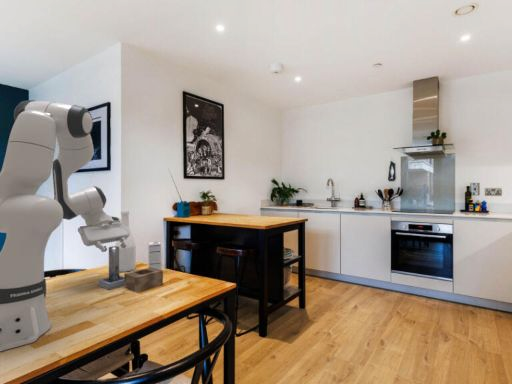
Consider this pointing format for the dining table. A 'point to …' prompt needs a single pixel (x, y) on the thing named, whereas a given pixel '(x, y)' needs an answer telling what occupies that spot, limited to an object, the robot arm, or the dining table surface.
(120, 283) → the slate tray
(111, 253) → the steel axle
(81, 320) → the dining table surface
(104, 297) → the dining table surface
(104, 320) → the dining table surface
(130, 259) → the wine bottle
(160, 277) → the walnut hollow rectangular frame
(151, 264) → the syrup box
